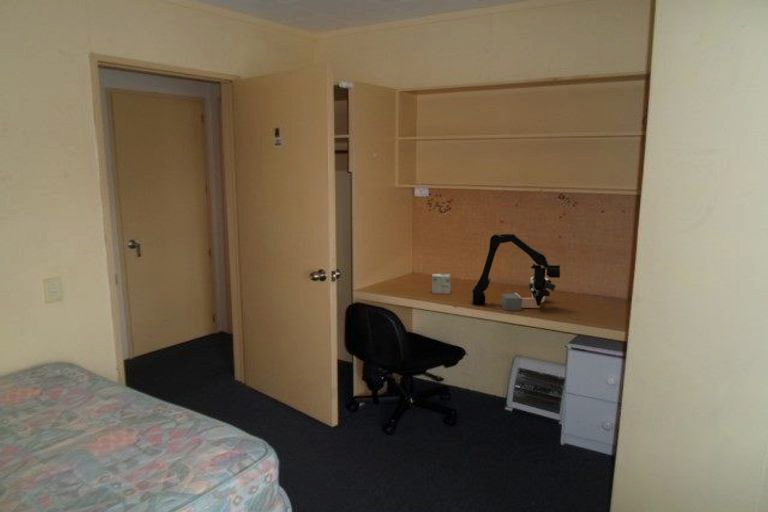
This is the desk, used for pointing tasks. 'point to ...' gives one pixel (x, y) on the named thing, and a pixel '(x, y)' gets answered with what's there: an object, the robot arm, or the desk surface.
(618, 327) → the desk surface
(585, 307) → the desk surface
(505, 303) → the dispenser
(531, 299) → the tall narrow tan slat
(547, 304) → the desk surface
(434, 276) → the light bulb box
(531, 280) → the foam cup
